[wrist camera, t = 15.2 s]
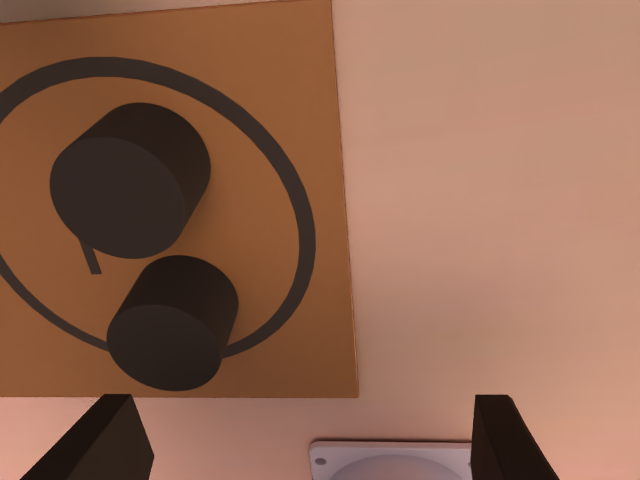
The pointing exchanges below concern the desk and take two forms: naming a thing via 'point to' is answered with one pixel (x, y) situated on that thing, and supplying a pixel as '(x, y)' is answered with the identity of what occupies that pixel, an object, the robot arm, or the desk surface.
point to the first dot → (174, 324)
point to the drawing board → (209, 215)
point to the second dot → (131, 180)
